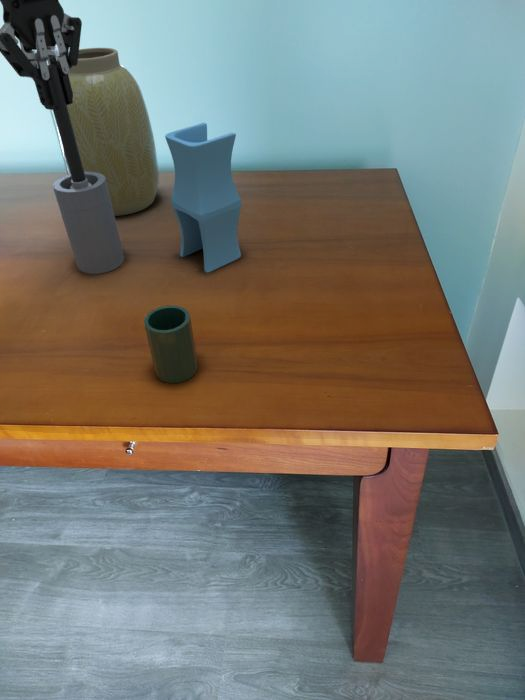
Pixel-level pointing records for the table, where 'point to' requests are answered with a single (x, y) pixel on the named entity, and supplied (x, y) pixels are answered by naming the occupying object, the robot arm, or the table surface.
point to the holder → (171, 343)
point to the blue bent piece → (205, 195)
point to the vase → (113, 129)
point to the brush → (67, 134)
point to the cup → (90, 223)
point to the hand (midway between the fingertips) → (58, 105)
